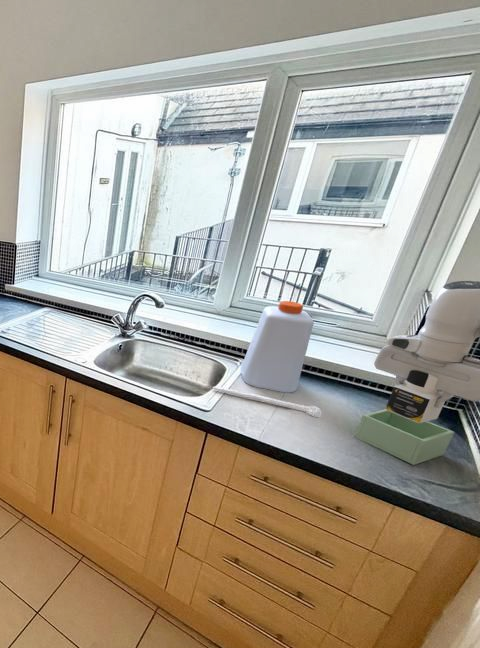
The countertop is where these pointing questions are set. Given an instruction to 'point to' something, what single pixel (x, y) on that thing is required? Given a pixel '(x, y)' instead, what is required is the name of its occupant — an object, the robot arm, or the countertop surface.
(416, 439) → the bin
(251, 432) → the countertop surface
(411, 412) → the medicine bottle
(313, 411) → the white knobbed stick
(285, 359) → the plastic bottle
